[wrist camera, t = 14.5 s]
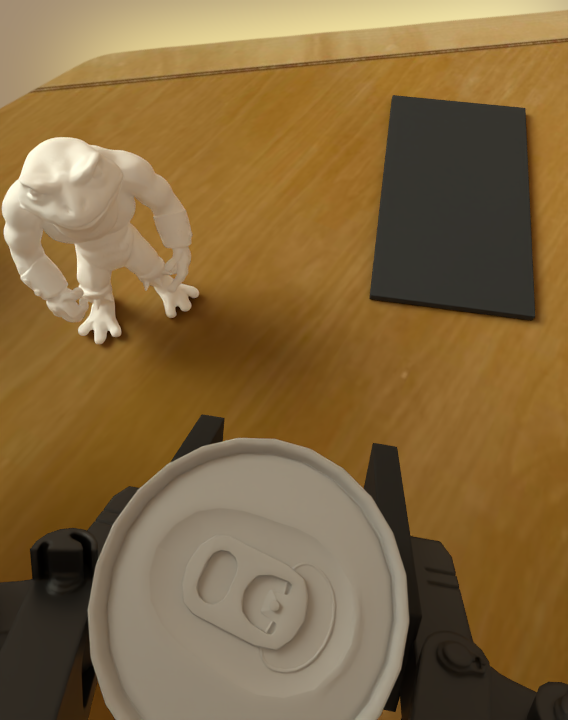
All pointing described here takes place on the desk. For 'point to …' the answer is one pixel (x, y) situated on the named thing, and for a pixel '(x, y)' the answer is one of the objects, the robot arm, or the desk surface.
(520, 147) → the mat
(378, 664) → the beverage can
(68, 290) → the figurine
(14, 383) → the desk surface
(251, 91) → the desk surface
